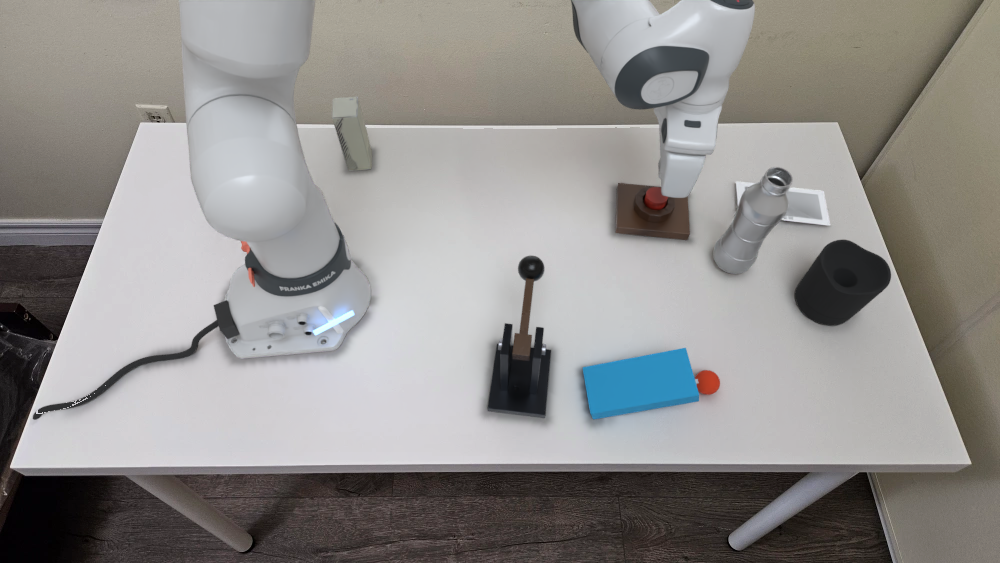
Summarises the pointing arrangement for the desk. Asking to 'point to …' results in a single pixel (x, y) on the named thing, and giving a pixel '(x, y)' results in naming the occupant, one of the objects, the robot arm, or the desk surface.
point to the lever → (526, 305)
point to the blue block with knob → (645, 383)
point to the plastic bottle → (753, 221)
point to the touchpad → (799, 204)
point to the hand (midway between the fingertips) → (663, 172)
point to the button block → (650, 214)
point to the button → (655, 199)
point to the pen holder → (841, 282)
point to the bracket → (520, 378)
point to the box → (352, 133)
